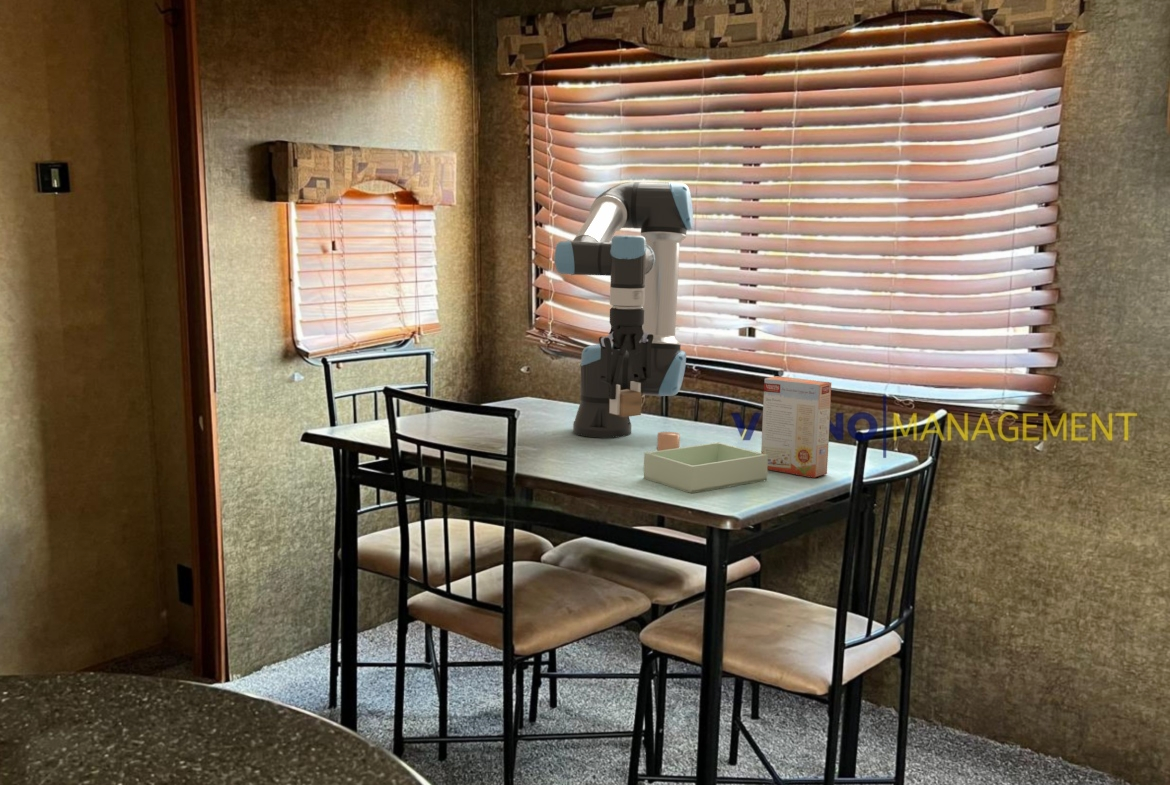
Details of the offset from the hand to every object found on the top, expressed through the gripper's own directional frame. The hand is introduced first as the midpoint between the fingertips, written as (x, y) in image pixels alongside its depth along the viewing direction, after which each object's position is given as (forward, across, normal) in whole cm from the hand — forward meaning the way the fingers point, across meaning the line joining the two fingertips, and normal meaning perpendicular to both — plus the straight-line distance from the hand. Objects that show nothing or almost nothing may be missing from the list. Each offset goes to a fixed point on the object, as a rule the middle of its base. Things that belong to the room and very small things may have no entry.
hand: (624, 412), depth 247 cm
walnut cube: (0, 0, 0) cm, 0 cm away
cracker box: (+14, +32, -21) cm, 40 cm away
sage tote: (+13, +10, -16) cm, 23 cm away
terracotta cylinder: (+13, +13, 0) cm, 18 cm away
